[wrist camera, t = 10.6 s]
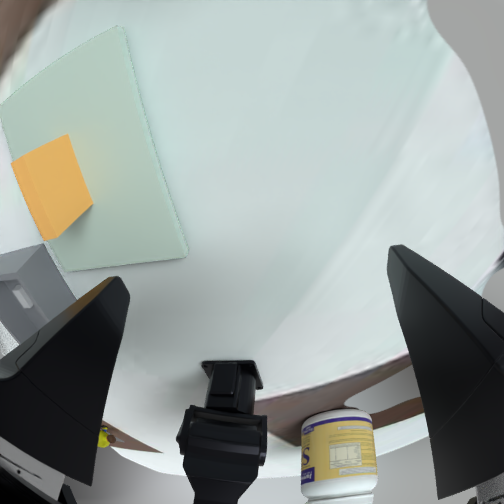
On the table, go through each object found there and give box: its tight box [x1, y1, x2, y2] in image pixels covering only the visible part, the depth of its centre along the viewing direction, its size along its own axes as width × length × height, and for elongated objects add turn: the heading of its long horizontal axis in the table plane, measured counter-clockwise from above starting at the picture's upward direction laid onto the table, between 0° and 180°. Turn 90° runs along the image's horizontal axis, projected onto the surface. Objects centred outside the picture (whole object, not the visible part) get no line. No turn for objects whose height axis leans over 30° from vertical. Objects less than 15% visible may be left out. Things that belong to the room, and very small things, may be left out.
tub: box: [0, 244, 77, 345], centre depth 29 cm, size 18×14×5 cm
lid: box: [0, 26, 189, 272], centre depth 17 cm, size 18×14×7 cm
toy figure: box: [98, 426, 116, 448], centre depth 57 cm, size 18×6×7 cm, turn 133°
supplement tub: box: [301, 409, 378, 504], centre depth 35 cm, size 12×12×17 cm
